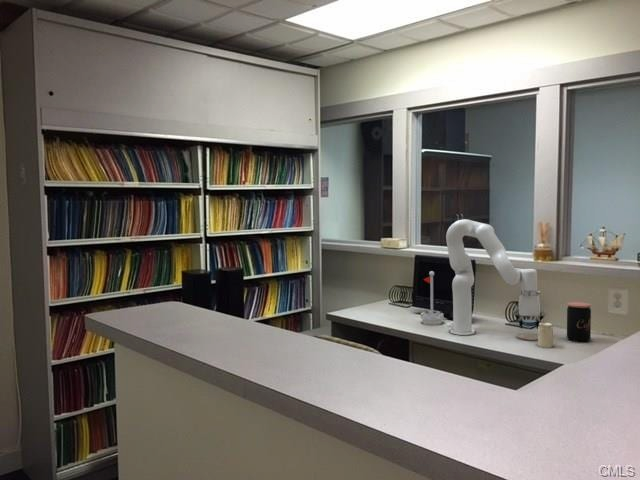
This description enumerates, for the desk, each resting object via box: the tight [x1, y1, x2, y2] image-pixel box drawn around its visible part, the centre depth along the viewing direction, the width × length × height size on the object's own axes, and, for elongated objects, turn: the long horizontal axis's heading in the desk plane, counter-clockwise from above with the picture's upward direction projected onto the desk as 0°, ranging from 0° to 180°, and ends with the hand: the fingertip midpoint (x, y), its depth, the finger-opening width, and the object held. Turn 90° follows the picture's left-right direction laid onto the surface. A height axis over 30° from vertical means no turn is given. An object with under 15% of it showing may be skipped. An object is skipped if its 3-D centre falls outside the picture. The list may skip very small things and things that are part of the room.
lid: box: [522, 318, 537, 327], centre depth 272 cm, size 7×7×2 cm
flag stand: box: [420, 270, 445, 326], centre depth 309 cm, size 13×13×30 cm
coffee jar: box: [566, 301, 592, 343], centre depth 266 cm, size 11×11×18 cm
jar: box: [537, 322, 554, 348], centre depth 257 cm, size 7×7×11 cm
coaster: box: [516, 333, 538, 342], centre depth 272 cm, size 11×11×1 cm
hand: (529, 328), depth 272 cm, fingers closed on lid, 6 cm apart
